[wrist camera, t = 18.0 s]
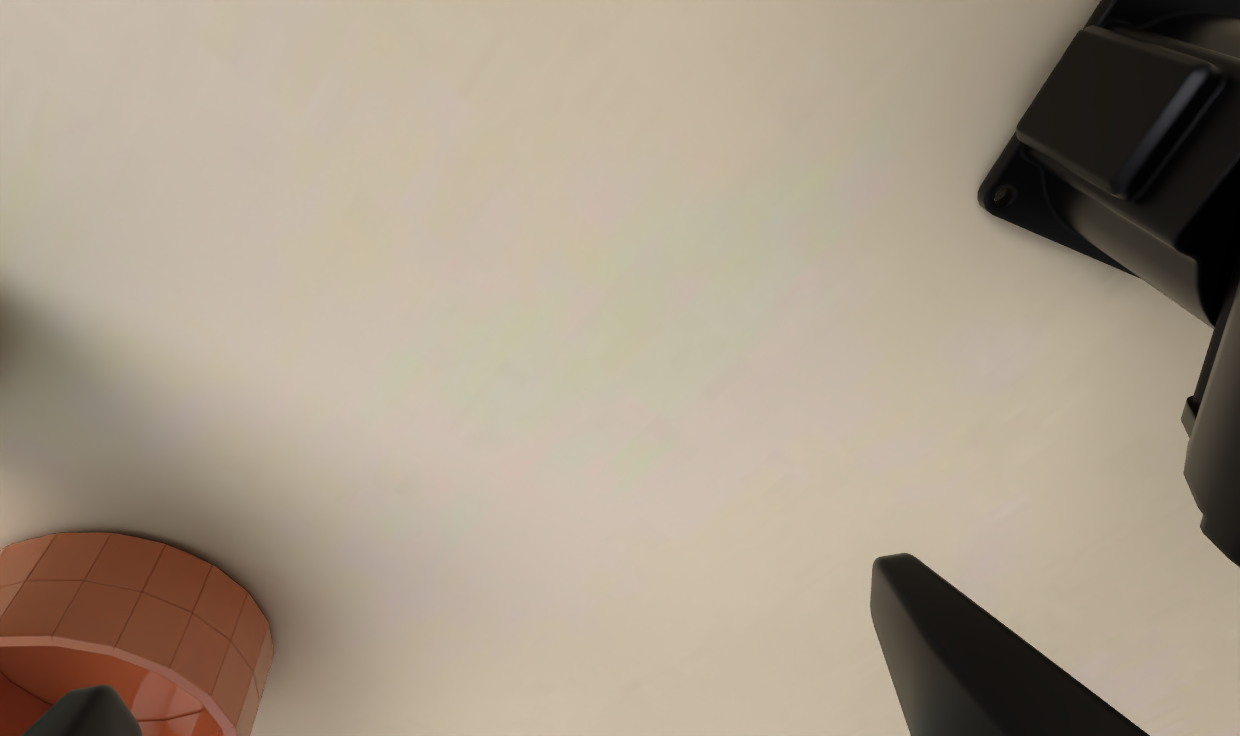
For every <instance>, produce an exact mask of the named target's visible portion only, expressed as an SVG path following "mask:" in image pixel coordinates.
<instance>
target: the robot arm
mask: <svg viewBox="0 0 1240 736" xmlns="http://www.w3.org/2000/svg"><path fill="white" fill-rule="evenodd" d="M1005 187H1006V192H1005V195H1004V196H1003V197H1002V198H1001V199H999V200H997V201H994V198H995V195H996V193H997V192H998V191H999V190H1000V189H1003V188H1005ZM978 201H979V204H980V205H981V206H982V207H983V208H985V209H986V210H987V211H988V212H990V213H991V214H992V215H994V216H997V217H999V218H1001V219H1004V220H1006V221H1008V222H1011V223H1013V224H1015V225H1018V226H1020V227H1022V228H1025V229H1027V230H1029V231H1032V232H1034V233H1036V234H1039V235H1041V236H1043V237H1046V238H1048V239H1050V240H1053V241H1055V242H1057V243H1059V244H1062V245H1064V246H1066V247H1069V248H1071V249H1073V250H1076V251H1078V252H1080V253H1083V254H1085V255H1087V256H1090V257H1092V258H1094V259H1097V260H1099V261H1101V262H1104V263H1106V264H1108V265H1111V266H1113V267H1115V268H1118V269H1120V270H1122V271H1124V272H1127V273H1129V274H1131V275H1134V276H1136V277H1138V278H1141V279H1143V280H1144V281H1146V282H1147V283H1149V284H1150V285H1151V286H1153V287H1154V288H1156V289H1157V290H1159V291H1160V292H1161V293H1163V294H1164V295H1166V296H1167V297H1169V298H1170V299H1171V300H1173V301H1174V302H1176V303H1177V304H1179V305H1180V306H1181V307H1183V308H1184V309H1186V310H1187V311H1188V312H1190V313H1191V314H1193V315H1194V316H1196V317H1197V318H1198V319H1200V320H1201V321H1203V322H1204V323H1206V324H1207V325H1208V326H1210V327H1211V328H1213V329H1214V331H1213V335H1212V338H1211V341H1210V344H1209V348H1208V351H1207V354H1206V357H1205V361H1204V364H1203V367H1202V370H1201V373H1200V377H1199V380H1198V383H1197V386H1196V390H1195V393H1194V395H1193V396H1190V397H1188V398H1187V400H1186V404H1185V407H1184V410H1183V414H1182V417H1181V421H1182V423H1183V425H1184V427H1185V429H1186V432H1187V434H1188V436H1189V438H1190V440H1189V443H1188V446H1187V453H1186V460H1185V467H1184V473H1183V474H1184V476H1185V479H1186V481H1187V483H1188V485H1189V488H1190V490H1191V492H1192V495H1193V497H1194V499H1195V502H1196V504H1197V506H1198V508H1199V509H1200V511H1201V512H1202V513H1203V517H1202V520H1201V524H1200V528H1201V530H1202V532H1203V533H1204V534H1205V535H1206V536H1207V537H1208V538H1209V539H1210V540H1211V541H1212V542H1213V543H1214V544H1215V545H1216V546H1217V547H1218V548H1219V549H1220V550H1221V551H1222V552H1223V553H1224V554H1225V555H1226V556H1227V558H1229V559H1230V560H1231V561H1232V562H1233V563H1235V564H1236V565H1237V566H1239V567H1240V0H1102V1H1101V2H1100V4H1099V5H1098V7H1097V8H1096V10H1095V11H1094V13H1093V14H1092V16H1091V18H1090V19H1089V21H1088V22H1087V24H1086V25H1085V27H1084V28H1083V30H1081V31H1079V32H1078V33H1077V35H1076V36H1075V38H1074V39H1073V41H1072V42H1071V44H1070V45H1069V47H1068V48H1067V50H1066V51H1065V53H1064V54H1063V56H1062V58H1061V59H1060V61H1059V62H1058V64H1057V65H1056V67H1055V68H1054V70H1053V71H1052V73H1051V74H1050V76H1049V77H1048V79H1047V81H1046V82H1045V84H1044V85H1043V87H1042V88H1041V90H1040V91H1039V93H1038V94H1037V96H1036V97H1035V99H1034V100H1033V102H1032V104H1031V105H1030V107H1029V108H1028V110H1027V111H1026V113H1025V114H1024V116H1023V117H1022V119H1021V120H1020V122H1019V123H1018V125H1017V131H1016V132H1015V134H1014V135H1013V137H1012V138H1011V140H1010V141H1009V143H1008V144H1007V146H1006V148H1005V149H1004V151H1003V152H1002V154H1001V155H1000V157H999V158H998V160H997V161H996V163H995V164H994V166H993V167H992V169H991V171H990V172H989V174H988V175H987V177H986V178H985V180H984V181H983V183H982V184H981V186H980V189H979V191H978ZM870 608H871V616H872V620H873V624H874V627H875V630H876V633H877V636H878V639H879V642H880V645H881V648H882V651H883V654H884V657H885V660H886V663H887V666H888V669H889V672H890V675H891V678H892V681H893V684H894V687H895V690H896V693H897V696H898V699H899V702H900V705H901V708H902V711H903V714H904V717H905V720H906V723H907V725H908V728H909V731H910V734H911V736H1150V735H1148V734H1147V733H1146V732H1144V731H1143V730H1142V729H1140V728H1139V727H1138V726H1136V725H1135V724H1134V723H1132V722H1131V721H1130V720H1129V719H1127V718H1126V717H1125V716H1123V715H1122V714H1121V713H1119V712H1118V711H1117V710H1115V709H1114V708H1113V707H1111V706H1110V705H1109V704H1108V703H1106V702H1105V701H1104V700H1102V699H1101V698H1100V697H1098V696H1097V695H1096V694H1094V693H1093V692H1092V691H1090V690H1089V689H1088V688H1087V687H1085V686H1084V685H1083V684H1081V683H1080V682H1079V681H1077V680H1076V679H1075V678H1073V677H1072V676H1071V675H1069V674H1068V673H1067V672H1065V671H1064V670H1063V669H1062V668H1060V667H1059V666H1058V665H1056V664H1055V663H1054V662H1052V661H1051V660H1050V659H1048V658H1047V657H1046V656H1044V655H1043V654H1042V653H1041V652H1039V651H1038V650H1037V649H1035V648H1034V647H1033V646H1031V645H1030V644H1029V643H1027V642H1026V641H1025V640H1023V639H1022V638H1021V637H1019V636H1018V635H1017V634H1016V633H1014V632H1013V631H1012V630H1010V629H1009V628H1008V627H1006V626H1005V625H1004V624H1002V623H1001V622H1000V621H998V620H997V619H996V618H995V617H993V616H992V615H991V614H989V613H988V612H987V611H985V610H984V609H983V608H981V607H980V606H979V605H977V604H976V603H975V602H973V601H972V600H971V599H970V598H968V597H967V596H966V595H964V594H963V593H962V592H960V591H959V590H958V589H956V588H955V587H954V586H952V585H951V584H950V583H949V582H947V581H946V580H945V579H943V578H942V577H941V576H939V575H938V574H937V573H935V572H934V571H933V570H931V569H930V568H929V567H927V566H926V565H925V564H924V563H922V562H921V561H920V560H918V559H917V558H916V557H914V556H913V555H910V554H908V553H900V554H894V555H888V556H882V557H878V558H877V559H876V560H875V561H874V563H873V568H872V584H871V600H870ZM21 736H142V731H141V727H140V725H139V723H138V722H137V720H136V719H135V717H134V716H133V714H132V713H131V711H130V710H129V709H128V707H127V706H126V704H125V703H124V701H123V700H122V698H121V697H120V696H119V694H118V693H117V691H116V690H115V689H114V688H113V687H111V686H109V685H97V686H91V687H85V688H79V689H75V690H72V691H70V692H68V693H67V694H65V695H64V696H63V697H62V698H61V699H60V700H59V701H58V702H56V703H55V704H54V705H53V706H52V707H51V708H50V709H49V710H48V711H47V712H46V713H45V714H44V715H43V716H42V717H41V718H39V719H38V720H37V721H36V722H35V723H34V724H33V725H32V726H31V727H30V728H29V729H28V730H27V731H26V732H25V733H24V734H22V735H21Z"/></svg>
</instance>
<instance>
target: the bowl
mask: <svg viewBox="0 0 1240 736" xmlns="http://www.w3.org/2000/svg"><path fill="white" fill-rule="evenodd" d="M273 655H274V650H273V645H272V639H271V633H270V628H269V623H268V621H267V619H266V618H265V616H264V615H263V613H262V612H261V610H260V609H259V608H258V606H257V605H256V603H255V602H254V600H253V599H252V597H251V596H250V594H249V593H248V592H247V591H246V590H245V589H244V588H242V587H241V586H240V585H239V584H237V583H236V582H235V581H233V580H232V579H231V578H230V577H228V576H227V575H226V574H224V573H223V572H222V571H221V570H219V569H218V568H217V567H215V566H214V565H211V564H210V563H208V562H205V561H203V560H201V559H200V558H198V557H195V556H193V555H191V554H189V553H187V552H184V551H182V550H180V549H177V548H174V547H172V546H169V545H165V544H164V543H160V542H155V541H151V540H147V539H143V538H139V537H133V536H127V535H122V534H117V533H110V532H85V533H58V534H57V533H54V534H50V535H46V536H42V537H38V538H34V539H30V540H26V541H22V542H18V543H14V544H11V545H9V546H7V547H5V548H3V549H2V550H0V736H21V735H22V734H24V733H25V732H26V731H27V730H28V729H29V728H30V727H31V726H32V725H33V724H34V723H35V722H36V721H37V720H38V719H39V718H41V717H42V716H43V715H44V714H45V713H46V712H47V711H48V710H49V709H50V708H51V707H52V706H53V705H54V704H55V703H56V702H58V701H59V700H60V699H61V698H62V697H63V696H64V695H65V694H67V693H68V692H70V691H72V690H75V689H79V688H85V687H91V686H97V685H109V686H111V687H113V688H114V689H115V690H116V691H117V693H118V694H119V696H120V697H121V698H122V700H123V701H124V703H125V704H126V706H127V707H128V709H129V710H130V711H131V713H132V714H133V716H134V717H135V719H136V720H137V722H138V723H139V725H140V727H141V731H142V736H250V734H251V730H252V727H253V724H254V720H255V717H256V714H257V710H258V707H259V703H260V700H261V697H262V693H263V690H264V687H265V683H266V680H267V676H268V673H269V670H270V666H271V663H272V660H273Z"/></svg>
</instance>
